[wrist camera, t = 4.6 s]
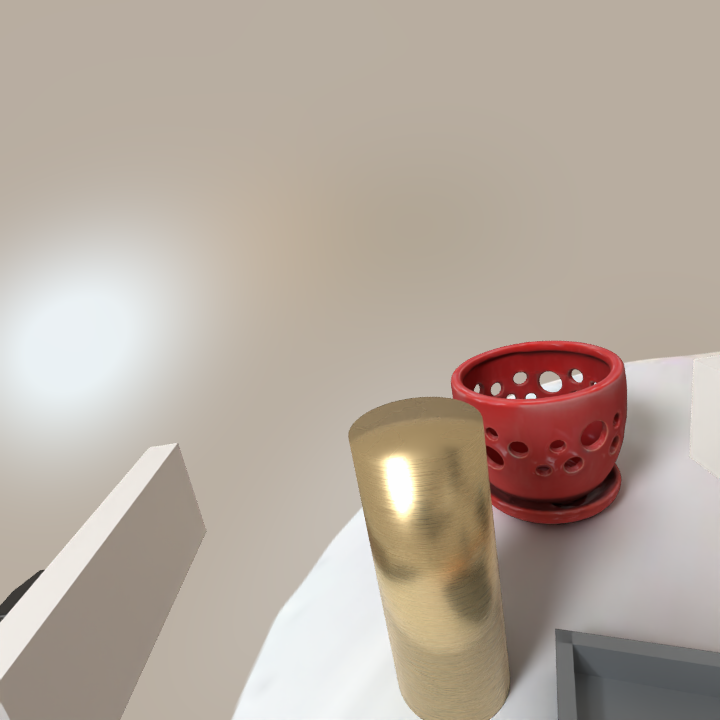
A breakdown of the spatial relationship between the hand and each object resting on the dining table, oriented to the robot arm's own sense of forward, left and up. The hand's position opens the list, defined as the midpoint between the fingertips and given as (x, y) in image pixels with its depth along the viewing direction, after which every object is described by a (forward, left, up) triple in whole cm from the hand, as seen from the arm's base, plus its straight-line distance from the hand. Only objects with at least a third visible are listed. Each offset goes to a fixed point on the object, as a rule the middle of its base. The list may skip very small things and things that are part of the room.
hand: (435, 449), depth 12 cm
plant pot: (-27, +1, -20) cm, 34 cm away
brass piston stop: (-9, -3, -20) cm, 22 cm away
